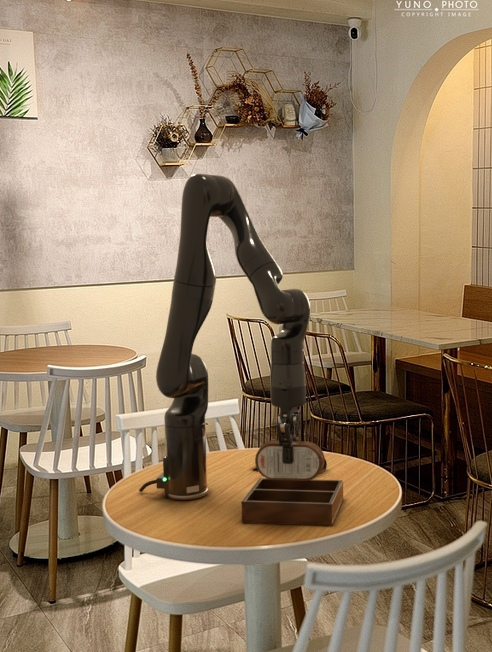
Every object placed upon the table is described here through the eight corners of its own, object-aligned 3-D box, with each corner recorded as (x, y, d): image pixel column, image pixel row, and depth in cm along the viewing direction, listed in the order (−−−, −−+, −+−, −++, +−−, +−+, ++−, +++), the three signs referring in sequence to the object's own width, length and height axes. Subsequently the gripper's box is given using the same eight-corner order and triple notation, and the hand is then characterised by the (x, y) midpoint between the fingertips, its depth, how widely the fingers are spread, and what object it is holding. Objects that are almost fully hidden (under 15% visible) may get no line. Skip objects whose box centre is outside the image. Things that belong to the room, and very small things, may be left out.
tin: (325, 479, 190) (325, 440, 190) (322, 482, 187) (322, 443, 187) (257, 477, 192) (257, 439, 191) (253, 480, 189) (253, 441, 188)
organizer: (241, 523, 188) (241, 501, 187) (260, 497, 204) (259, 477, 203) (332, 525, 186) (331, 504, 185) (343, 500, 202) (343, 480, 201)
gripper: (277, 376, 194) (279, 451, 196) (263, 389, 180) (265, 470, 183) (311, 376, 193) (312, 452, 196) (298, 389, 180) (300, 471, 182)
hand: (289, 460), depth 189 cm, fingers closed on tin, 2 cm apart
